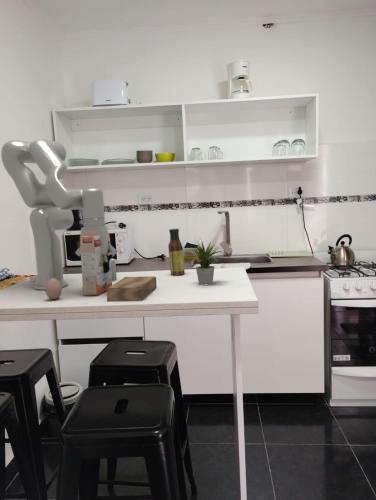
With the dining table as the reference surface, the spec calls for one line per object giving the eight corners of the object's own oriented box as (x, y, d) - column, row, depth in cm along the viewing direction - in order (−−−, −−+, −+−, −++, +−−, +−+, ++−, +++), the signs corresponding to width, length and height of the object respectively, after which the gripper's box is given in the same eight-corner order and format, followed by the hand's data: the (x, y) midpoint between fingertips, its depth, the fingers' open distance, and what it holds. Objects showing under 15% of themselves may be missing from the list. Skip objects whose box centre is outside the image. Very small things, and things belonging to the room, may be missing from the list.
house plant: (219, 288, 146) (217, 242, 144) (182, 287, 151) (180, 243, 149) (228, 280, 159) (227, 238, 158) (194, 280, 164) (192, 239, 162)
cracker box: (98, 296, 143) (94, 236, 141) (82, 295, 144) (78, 236, 142) (113, 287, 157) (110, 232, 154) (98, 287, 158) (95, 232, 155)
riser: (107, 301, 135) (106, 288, 135) (125, 287, 155) (124, 276, 154) (142, 300, 133) (141, 287, 133) (156, 287, 153) (156, 276, 153)
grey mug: (107, 276, 182) (106, 257, 181) (119, 280, 171) (118, 260, 170) (87, 279, 177) (86, 259, 176) (99, 283, 166) (97, 262, 165)
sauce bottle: (187, 273, 179) (185, 228, 177) (179, 276, 174) (177, 229, 171) (175, 272, 182) (172, 228, 180) (167, 275, 177) (164, 229, 175)
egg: (43, 300, 141) (41, 279, 140) (55, 297, 145) (54, 276, 144) (53, 302, 138) (51, 280, 137) (65, 298, 142) (64, 277, 141)
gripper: (66, 224, 145) (70, 274, 147) (113, 223, 142) (116, 274, 145) (75, 223, 153) (79, 271, 155) (120, 221, 150) (123, 270, 152)
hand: (97, 272), depth 150 cm, fingers closed on cracker box, 6 cm apart
